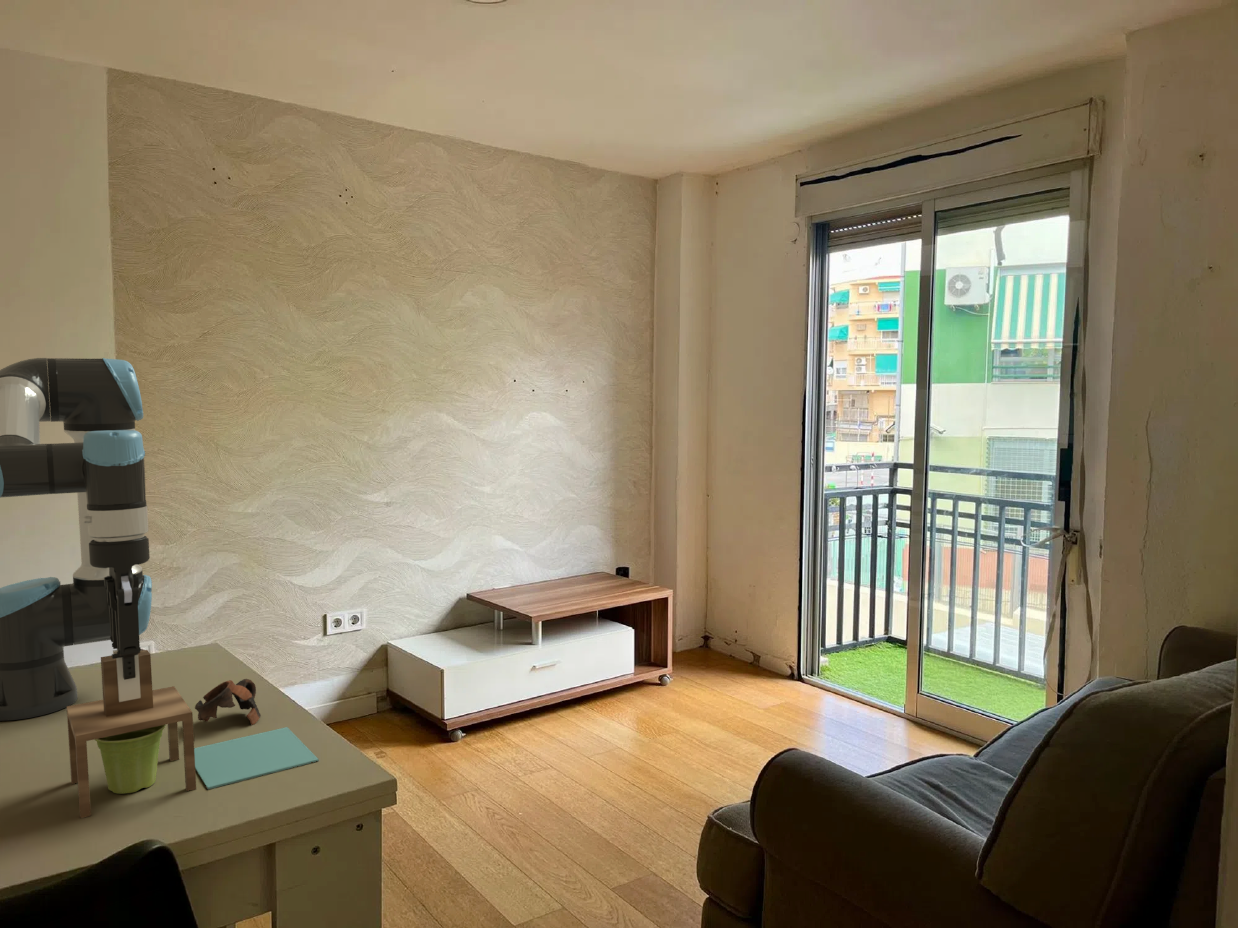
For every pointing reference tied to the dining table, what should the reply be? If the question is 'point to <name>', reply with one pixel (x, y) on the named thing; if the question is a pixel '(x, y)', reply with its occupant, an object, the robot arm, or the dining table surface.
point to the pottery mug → (229, 700)
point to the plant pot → (131, 759)
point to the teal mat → (250, 757)
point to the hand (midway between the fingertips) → (127, 695)
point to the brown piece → (127, 722)
